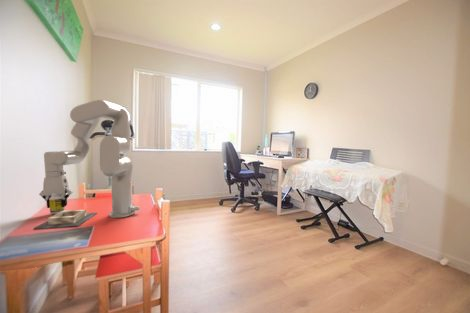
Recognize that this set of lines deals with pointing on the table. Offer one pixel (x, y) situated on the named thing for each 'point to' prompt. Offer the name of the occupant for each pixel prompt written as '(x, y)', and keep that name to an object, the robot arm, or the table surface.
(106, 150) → the robot arm
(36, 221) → the table surface
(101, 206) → the table surface
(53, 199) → the pill bottle
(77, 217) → the grey square base
